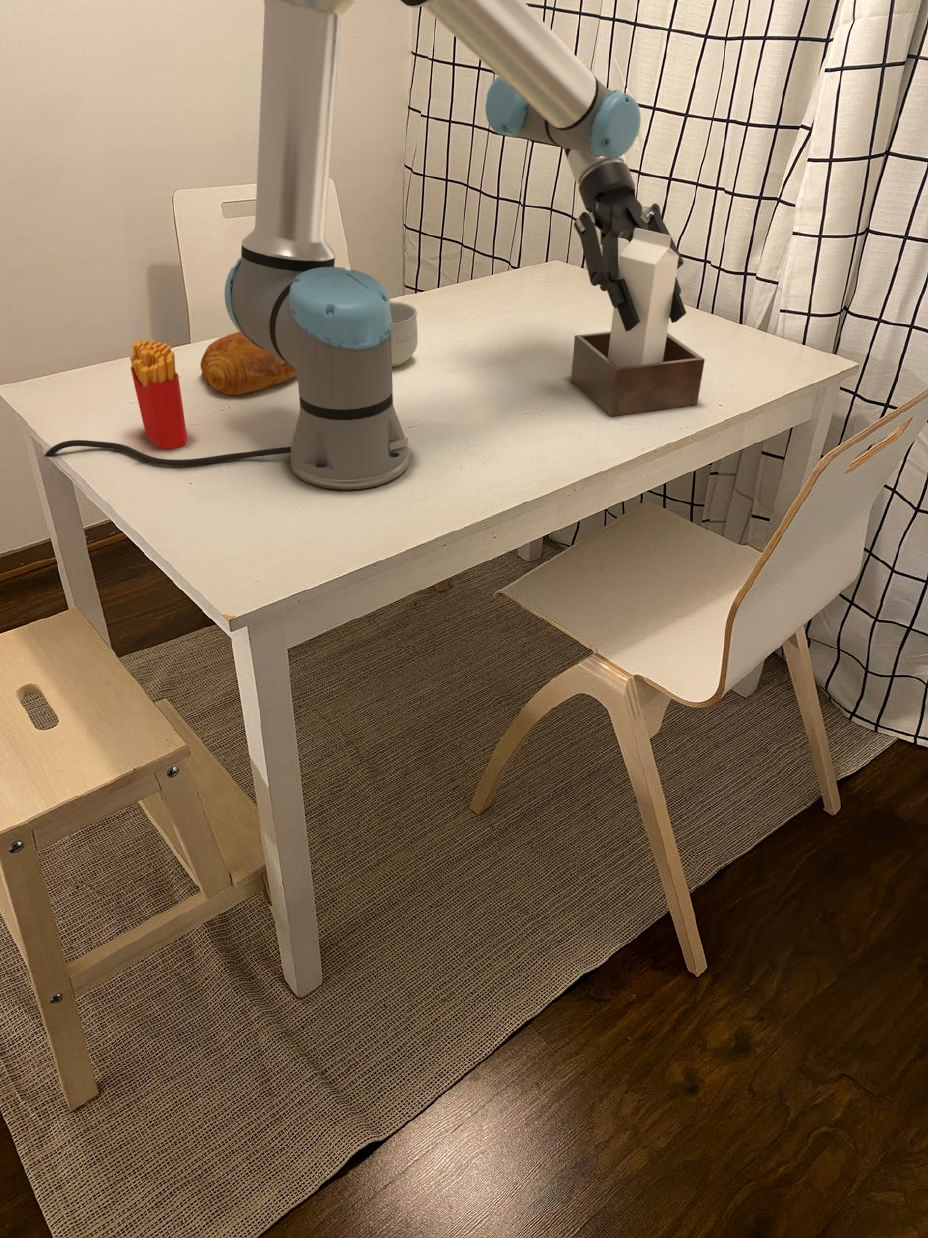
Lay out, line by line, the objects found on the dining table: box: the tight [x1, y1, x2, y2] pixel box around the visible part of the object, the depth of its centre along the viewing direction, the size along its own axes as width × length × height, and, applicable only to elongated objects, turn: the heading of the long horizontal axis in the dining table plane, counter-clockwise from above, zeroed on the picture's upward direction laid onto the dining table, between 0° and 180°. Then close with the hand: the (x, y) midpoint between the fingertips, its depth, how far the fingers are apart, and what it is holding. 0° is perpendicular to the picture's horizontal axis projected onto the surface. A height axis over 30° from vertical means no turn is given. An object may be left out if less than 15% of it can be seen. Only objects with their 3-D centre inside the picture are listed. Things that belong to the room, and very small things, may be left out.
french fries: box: [129, 338, 188, 450], centre depth 126 cm, size 9×4×13 cm, turn 39°
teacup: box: [389, 298, 418, 368], centre depth 153 cm, size 14×11×8 cm
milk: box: [608, 228, 679, 368], centre depth 138 cm, size 6×6×22 cm
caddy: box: [570, 331, 705, 417], centre depth 143 cm, size 14×14×7 cm
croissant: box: [199, 330, 297, 396], centre depth 146 cm, size 14×16×8 cm
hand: (656, 321), depth 136 cm, fingers closed on milk, 7 cm apart
